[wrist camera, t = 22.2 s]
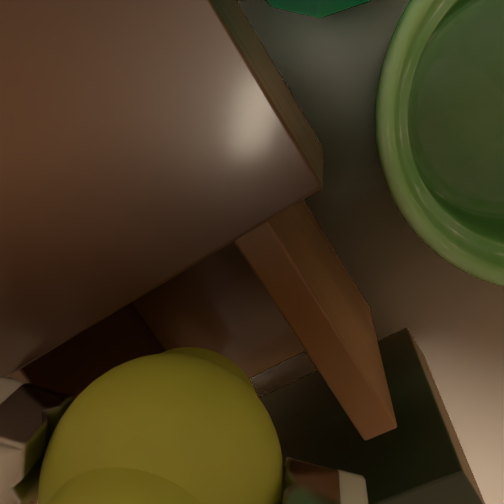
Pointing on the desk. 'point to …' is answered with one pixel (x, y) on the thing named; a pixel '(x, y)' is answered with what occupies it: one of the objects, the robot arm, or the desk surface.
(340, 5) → the candle
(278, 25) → the desk surface
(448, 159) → the ramekin
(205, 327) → the drawer
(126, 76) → the cabinet
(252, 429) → the pear
